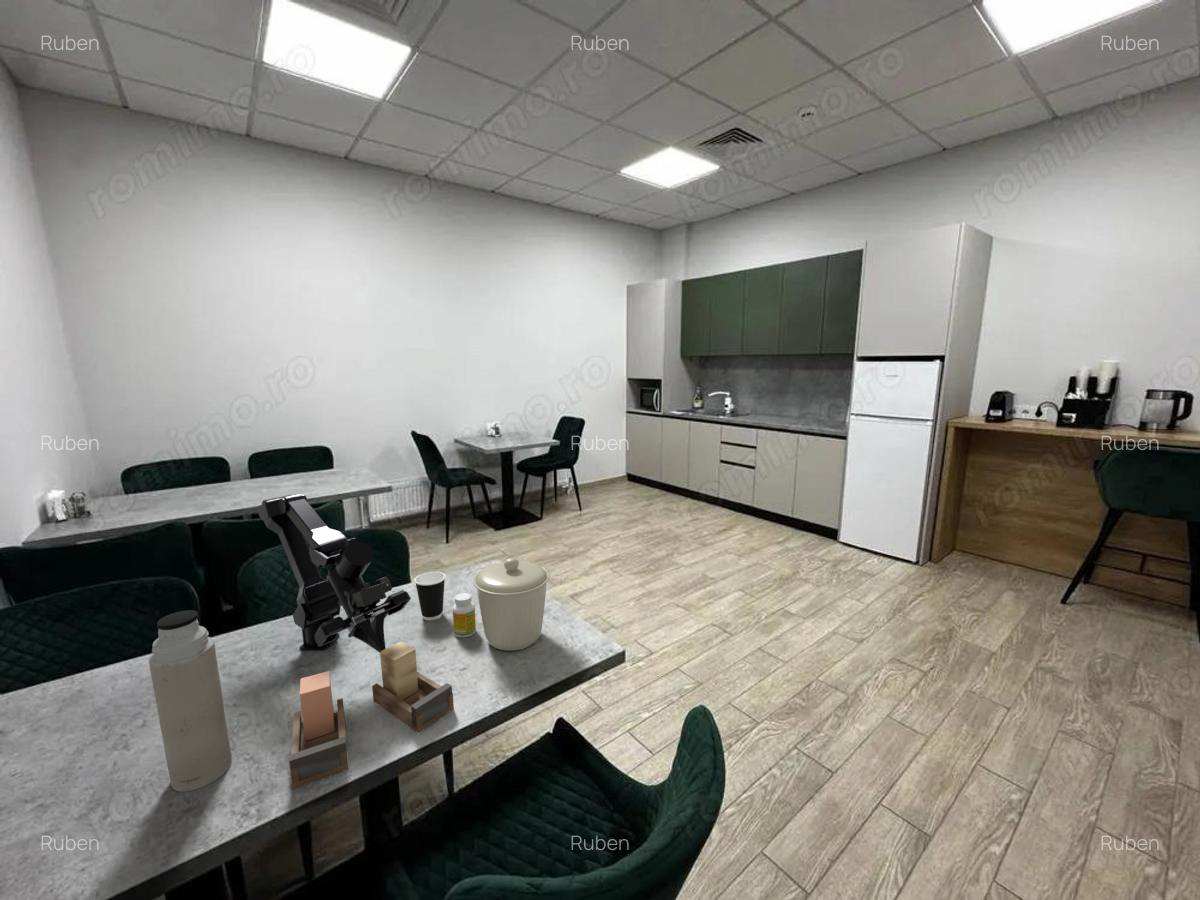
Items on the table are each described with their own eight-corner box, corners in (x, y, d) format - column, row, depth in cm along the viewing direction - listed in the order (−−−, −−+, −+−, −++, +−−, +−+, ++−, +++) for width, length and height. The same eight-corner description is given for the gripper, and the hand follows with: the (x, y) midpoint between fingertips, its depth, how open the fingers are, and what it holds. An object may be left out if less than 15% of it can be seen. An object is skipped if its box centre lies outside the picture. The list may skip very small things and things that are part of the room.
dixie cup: (453, 616, 132) (451, 577, 130) (424, 626, 126) (422, 587, 124) (439, 605, 137) (437, 568, 135) (411, 615, 132) (409, 577, 130)
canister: (564, 644, 118) (562, 562, 115) (493, 670, 108) (489, 581, 105) (530, 613, 133) (528, 539, 129) (465, 633, 123) (461, 554, 119)
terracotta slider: (305, 723, 91) (300, 678, 89) (334, 714, 93) (329, 670, 91) (305, 740, 86) (299, 694, 85) (334, 731, 89) (329, 685, 87)
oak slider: (383, 692, 99) (379, 651, 97) (404, 681, 103) (400, 641, 101) (397, 702, 96) (394, 660, 95) (418, 690, 100) (415, 649, 98)
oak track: (373, 701, 98) (371, 679, 98) (408, 680, 105) (407, 659, 104) (418, 733, 90) (416, 709, 89) (453, 708, 96) (452, 686, 95)
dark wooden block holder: (296, 729, 91) (293, 705, 90) (344, 714, 95) (341, 691, 94) (292, 789, 78) (289, 762, 77) (348, 769, 82) (345, 743, 81)
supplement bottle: (469, 639, 121) (468, 602, 119) (449, 636, 122) (447, 600, 120) (479, 627, 126) (477, 592, 124) (460, 625, 127) (458, 590, 125)
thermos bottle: (157, 793, 77) (127, 631, 72) (194, 754, 85) (169, 605, 80) (211, 790, 78) (184, 629, 73) (242, 751, 86) (220, 603, 81)
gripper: (315, 586, 94) (350, 658, 90) (402, 555, 109) (436, 615, 105) (300, 612, 100) (333, 680, 95) (385, 579, 115) (417, 637, 110)
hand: (383, 651), depth 101 cm, fingers closed
